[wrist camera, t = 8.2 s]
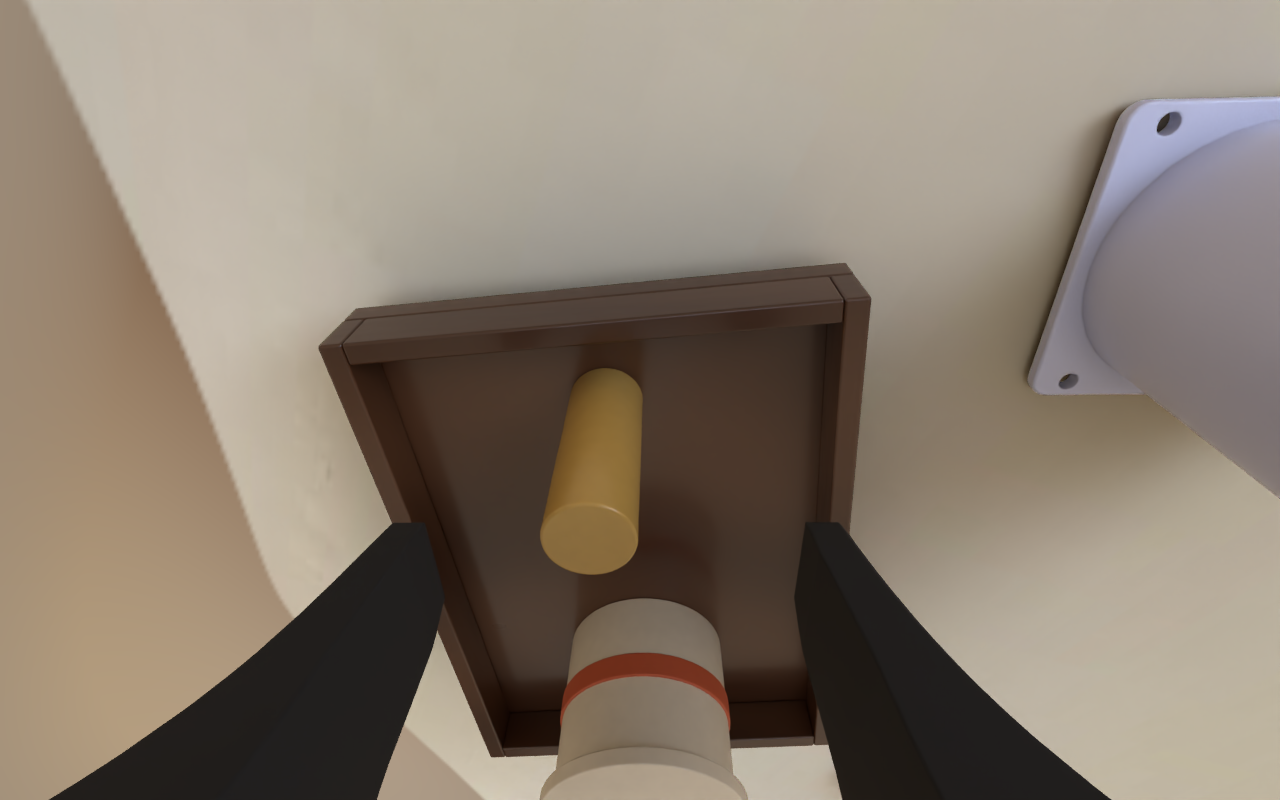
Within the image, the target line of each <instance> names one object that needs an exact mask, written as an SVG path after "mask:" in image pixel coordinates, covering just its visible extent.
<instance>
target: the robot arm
mask: <svg viewBox="0 0 1280 800" xmlns="http://www.w3.org/2000/svg"><path fill="white" fill-rule="evenodd" d="M1167 113H1169V114H1170V119H1169V122H1168V124H1167V125H1166V127H1165V128H1164V129H1162V130H1161V131H1160V132H1157V124H1158V123H1159V121H1160V119H1161V118H1162V117H1163V116H1165V115H1166V114H1167ZM1067 374H1070V376H1069V377H1068V379H1066V380H1065V381H1063V382H1059V381H1060V380H1061V378H1062V377H1064V376H1065V375H1067ZM1027 382H1028V384H1029V386H1030V387H1031V388H1032V389H1033V390H1034V391H1035V392H1037V393H1038V394H1041V395H1123V394H1146V395H1148V396H1149V397H1150V398H1151V399H1153V400H1154V401H1155V402H1157V403H1158V404H1159V405H1160V406H1162V407H1163V408H1164V409H1166V410H1167V411H1168V412H1169V413H1171V414H1172V415H1173V416H1174V417H1176V418H1177V419H1178V420H1180V421H1181V422H1182V423H1183V424H1185V425H1186V426H1187V427H1189V428H1190V429H1191V430H1192V431H1194V432H1195V433H1196V434H1198V435H1199V436H1200V437H1201V438H1203V439H1204V440H1205V441H1206V442H1208V443H1209V444H1210V445H1212V446H1213V447H1214V448H1215V449H1217V450H1218V451H1219V452H1221V453H1222V454H1223V455H1224V456H1226V457H1227V458H1228V459H1230V460H1231V461H1232V462H1233V463H1235V464H1236V465H1237V466H1238V467H1240V468H1241V469H1242V470H1244V471H1245V472H1246V473H1247V474H1249V475H1250V476H1251V477H1253V478H1254V479H1255V480H1256V481H1258V482H1259V483H1260V484H1262V485H1263V486H1264V487H1265V488H1267V489H1268V490H1269V491H1270V492H1272V493H1273V494H1274V495H1276V496H1277V497H1278V498H1279V499H1280V96H1269V97H1225V98H1182V99H1145V100H1141V101H1137V102H1135V103H1133V104H1132V105H1130V106H1128V107H1127V108H1126V109H1125V110H1124V112H1123V113H1122V114H1121V115H1120V117H1119V119H1118V121H1117V123H1116V125H1115V128H1114V131H1113V134H1112V137H1111V140H1110V143H1109V145H1108V148H1107V151H1106V154H1105V157H1104V160H1103V163H1102V165H1101V168H1100V171H1099V174H1098V177H1097V180H1096V183H1095V186H1094V188H1093V191H1092V194H1091V197H1090V200H1089V203H1088V206H1087V208H1086V211H1085V214H1084V217H1083V220H1082V223H1081V226H1080V228H1079V231H1078V234H1077V237H1076V240H1075V243H1074V246H1073V249H1072V251H1071V254H1070V257H1069V260H1068V263H1067V266H1066V269H1065V271H1064V274H1063V277H1062V280H1061V283H1060V286H1059V289H1058V291H1057V294H1056V297H1055V300H1054V303H1053V306H1052V309H1051V312H1050V314H1049V317H1048V320H1047V323H1046V326H1045V329H1044V332H1043V334H1042V337H1041V340H1040V343H1039V346H1038V349H1037V352H1036V354H1035V357H1034V360H1033V363H1032V366H1031V369H1030V372H1029V375H1028V380H1027ZM444 599H445V594H444V590H443V587H442V583H441V580H440V576H439V572H438V569H437V565H436V562H435V558H434V554H433V551H432V547H431V544H430V540H429V536H428V533H427V529H426V526H425V523H392V524H391V525H390V526H389V527H388V528H387V529H386V530H385V531H384V532H383V533H382V534H381V535H380V536H379V537H378V538H377V539H376V540H375V541H374V542H373V543H372V544H371V545H370V546H369V547H368V548H367V549H366V550H365V551H364V552H363V553H362V554H361V555H360V556H359V557H358V558H357V559H356V560H355V561H354V562H353V563H352V564H351V565H350V566H349V567H348V568H347V569H346V570H345V571H344V572H343V573H342V574H341V575H340V576H339V577H338V578H337V579H336V580H335V581H334V582H333V583H332V584H331V585H330V586H329V587H328V588H327V589H325V590H324V591H323V592H322V593H321V594H320V595H319V596H318V597H317V598H316V599H315V600H314V601H313V602H312V603H311V604H310V605H309V606H308V607H307V608H306V609H305V610H304V611H303V612H301V613H300V614H299V615H298V616H297V617H296V618H295V619H294V620H293V621H291V623H289V624H288V625H287V626H286V627H285V628H284V629H283V630H281V631H280V632H279V633H278V634H277V635H276V636H275V637H274V638H272V639H271V640H270V641H269V642H268V643H267V644H266V645H265V646H264V647H262V648H261V649H260V650H259V651H258V652H257V653H256V654H254V655H253V656H252V657H251V658H250V659H248V660H247V661H246V662H245V663H244V664H242V665H241V666H240V667H239V668H237V669H236V670H235V671H234V672H233V673H231V674H230V675H229V676H228V677H226V678H225V679H224V680H222V681H221V682H220V683H219V684H217V685H216V686H215V687H213V688H212V689H211V690H210V691H208V692H207V693H206V694H204V695H203V696H202V697H201V698H199V699H198V700H197V701H195V702H194V703H193V704H191V705H190V706H189V707H187V708H186V709H185V710H183V711H182V712H180V713H179V714H177V715H176V716H175V717H173V718H172V719H171V720H169V721H167V722H166V723H165V724H163V725H162V726H160V727H159V728H157V729H156V730H155V731H153V732H152V733H150V734H149V735H148V736H146V737H145V738H143V739H142V740H141V741H139V742H137V743H136V744H135V745H133V746H132V747H130V748H129V749H128V750H126V751H125V752H123V753H122V754H120V755H119V756H117V757H116V758H114V759H113V760H111V761H110V762H108V763H107V764H105V765H104V766H102V767H100V768H99V769H97V770H96V771H94V772H93V773H91V774H89V775H88V776H86V777H85V778H83V779H82V780H80V781H79V782H77V783H75V784H74V785H72V786H71V787H69V788H67V789H66V790H64V791H62V792H61V793H60V794H58V795H56V796H54V797H53V798H51V799H50V800H377V797H378V794H379V791H380V788H381V785H382V782H383V779H384V776H385V773H386V770H387V767H388V764H389V761H390V759H391V756H392V754H393V751H394V749H395V746H396V743H397V741H398V738H399V736H400V733H401V730H402V728H403V725H404V722H405V720H406V717H407V715H408V712H409V709H410V707H411V704H412V702H413V699H414V696H415V694H416V691H417V688H418V686H419V683H420V680H421V678H422V675H423V672H424V670H425V667H426V664H427V662H428V659H429V656H430V654H431V651H432V648H433V644H434V640H435V637H436V633H437V629H438V625H439V621H440V616H441V612H442V608H443V603H444ZM794 601H795V608H796V614H797V621H798V628H799V634H800V640H801V646H802V651H803V655H804V659H805V662H806V666H807V670H808V673H809V677H810V681H811V684H812V688H813V692H814V695H815V699H816V702H817V706H818V709H819V713H820V717H821V720H822V724H823V727H824V731H825V735H826V738H827V742H828V745H829V749H830V752H831V756H832V760H833V763H834V767H835V770H836V774H837V779H838V783H839V787H840V791H841V795H842V800H1111V799H1110V798H1108V797H1107V796H1106V795H1104V794H1103V793H1102V792H1101V791H1099V790H1098V789H1097V788H1095V787H1094V786H1093V785H1092V784H1090V783H1089V782H1088V781H1087V780H1086V779H1084V778H1083V777H1082V776H1081V775H1080V774H1078V773H1077V772H1076V771H1075V770H1073V769H1072V768H1071V767H1070V766H1069V765H1067V764H1066V763H1065V762H1064V761H1063V760H1061V759H1060V758H1059V757H1058V756H1056V755H1055V754H1054V753H1053V752H1052V751H1050V750H1049V749H1048V748H1047V747H1046V746H1044V745H1043V744H1042V743H1041V742H1039V741H1038V740H1037V739H1036V738H1035V737H1034V736H1032V735H1031V734H1030V733H1029V732H1028V731H1027V730H1026V729H1025V728H1024V727H1022V726H1021V725H1020V724H1019V723H1018V722H1017V721H1016V720H1015V719H1013V718H1012V717H1011V716H1010V715H1009V714H1008V713H1007V712H1006V711H1005V710H1004V709H1003V708H1001V707H1000V706H999V705H998V704H997V703H996V702H995V701H994V700H993V699H992V698H991V697H990V696H989V695H988V694H987V693H986V692H985V691H984V690H982V689H981V688H980V687H979V686H978V685H977V684H976V683H975V682H974V681H973V680H972V679H971V678H970V677H969V676H968V675H967V674H966V673H965V672H964V671H963V670H962V668H961V667H960V666H959V665H958V664H957V663H956V662H955V661H954V660H953V659H952V658H951V657H950V656H949V655H948V654H947V653H946V652H945V651H944V649H943V648H942V647H941V646H940V645H939V644H938V643H937V642H936V641H935V640H934V639H933V638H932V637H931V635H930V634H929V633H928V632H927V631H926V630H925V629H924V628H923V626H922V625H921V624H920V623H919V622H918V621H917V620H916V618H915V617H914V616H913V615H912V614H911V612H910V611H909V610H908V609H907V608H906V607H905V605H904V604H903V603H902V602H901V601H900V599H899V598H898V597H897V596H896V595H895V594H894V592H893V591H892V590H891V589H890V587H889V586H888V585H887V584H886V582H885V581H884V580H883V579H882V577H881V576H880V575H879V574H878V572H877V571H876V570H875V568H874V567H873V566H872V565H871V563H870V562H869V561H868V559H867V558H866V557H865V555H864V554H863V553H862V551H861V550H860V549H859V547H858V546H857V545H856V543H855V542H854V541H853V539H852V538H851V537H850V535H849V534H848V533H847V531H846V530H845V528H844V527H843V526H842V525H841V524H840V523H839V522H805V529H804V535H803V542H802V548H801V555H800V561H799V568H798V574H797V581H796V587H795V594H794Z"/></svg>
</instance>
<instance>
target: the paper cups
mask: <svg viewBox="0 0 1280 800" xmlns="http://www.w3.org/2000/svg"><path fill="white" fill-rule="evenodd" d="M560 724H561V734H560V742H559V750H558V757H557V765H556V771H554V772H553V773H552V774H551V775H550V776H549V778H548V779H547V780H546V782H545V784H544V785H543V787H542V791H541V794H540V800H748V797H747V793H746V791H745V789H744V787H743V785H742V784H741V782H740V781H739V780H738V779H737V778H736V777H735V776H734V775H733V766H732V756H731V746H730V737H729V731H730V712H729V703H728V697H727V694H726V691H725V687H724V678H723V668H722V658H721V648H720V641H719V637H718V635H717V632H716V631H715V629H714V627H713V626H712V625H711V624H710V622H709V621H708V620H707V619H706V618H704V617H703V616H702V615H701V614H699V613H698V612H696V611H694V610H692V609H690V608H688V607H686V606H684V605H681V604H678V603H675V602H671V601H667V600H661V599H651V598H638V599H628V600H623V601H618V602H615V603H612V604H609V605H606V606H604V607H601V608H600V609H598V610H596V611H594V612H593V613H591V614H590V615H589V616H587V617H586V618H585V619H584V620H583V621H582V623H581V624H580V625H579V627H578V628H577V630H576V632H575V634H574V638H573V643H572V651H571V658H570V666H569V674H568V681H567V687H566V689H565V691H564V695H563V701H562V708H561V716H560Z"/></svg>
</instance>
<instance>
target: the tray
mask: <svg viewBox="0 0 1280 800" xmlns="http://www.w3.org/2000/svg"><path fill="white" fill-rule="evenodd" d="M870 307H871V297H870V295H869V294H868V293H867V291H866V290H865V289H864V287H863V286H862V285H861V283H860V282H859V281H858V279H857V278H856V277H855V275H853V272H852V271H851V270H850V268H849V267H848V266H847V264H846V263H839V264H828V265H817V266H807V267H796V268H785V269H775V270H764V271H753V272H743V273H732V274H721V275H710V276H700V277H689V278H678V279H668V280H657V281H646V282H636V283H625V284H614V285H604V286H593V287H582V288H572V289H561V290H550V291H539V292H529V293H518V294H507V295H497V296H486V297H475V298H465V299H454V300H443V301H433V302H422V303H411V304H400V305H390V306H379V307H368V308H358V309H355V310H354V311H353V312H352V313H351V314H350V315H349V316H348V317H347V318H346V319H345V321H344V322H342V323H341V324H340V325H339V326H338V327H337V328H336V329H335V330H334V331H333V332H332V333H331V334H330V335H329V336H328V337H327V338H326V339H325V340H324V341H323V342H322V343H321V344H320V345H319V351H320V353H321V356H322V358H323V360H324V363H325V365H326V368H327V370H328V372H329V375H330V377H331V379H332V382H333V384H334V386H335V389H336V391H337V394H338V396H339V398H340V401H341V403H342V405H343V408H344V410H345V413H346V415H347V417H348V420H349V422H350V424H351V427H352V429H353V431H354V434H355V436H356V439H357V441H358V443H359V446H360V448H361V450H362V453H363V455H364V458H365V460H366V462H367V465H368V467H369V469H370V472H371V474H372V476H373V479H374V481H375V484H376V486H377V488H378V491H379V493H380V495H381V498H382V500H383V503H384V505H385V507H386V510H387V512H388V514H389V517H390V519H391V521H392V523H425V526H426V529H427V533H428V536H429V540H430V544H431V547H432V551H433V554H434V558H435V562H436V565H437V569H438V572H439V576H440V580H441V583H442V587H443V590H444V594H445V599H444V603H443V608H442V612H441V616H440V621H439V625H438V629H437V630H438V633H439V635H440V638H441V640H442V642H443V645H444V647H445V649H446V652H447V654H448V656H449V659H450V661H451V664H452V666H453V668H454V671H455V673H456V675H457V678H458V680H459V683H460V685H461V687H462V690H463V692H464V694H465V697H466V699H467V701H468V704H469V706H470V709H471V711H472V713H473V716H474V718H475V720H476V723H477V725H478V728H479V730H480V732H481V735H482V737H483V739H484V742H485V744H486V746H487V749H488V751H489V754H490V756H491V757H505V755H506V757H517V756H544V755H558V750H559V742H560V734H561V724H560V716H561V708H562V701H563V695H564V691H565V689H566V687H567V681H568V674H569V666H570V658H571V651H572V643H573V638H574V634H575V632H576V630H577V628H578V627H579V625H580V624H581V623H582V621H583V620H584V619H585V618H586V617H587V616H589V615H590V614H591V613H593V612H594V611H596V610H598V609H600V608H601V607H604V606H606V605H609V604H612V603H615V602H618V601H623V600H628V599H638V598H651V599H661V600H667V601H671V602H675V603H678V604H681V605H684V606H686V607H688V608H690V609H692V610H694V611H696V612H698V613H699V614H701V615H702V616H703V617H704V618H706V619H707V620H708V621H709V622H710V624H711V625H712V626H713V627H714V629H715V631H716V632H717V635H718V637H719V641H720V648H721V658H722V668H723V678H724V687H725V691H726V694H727V697H728V703H729V712H730V731H729V737H730V746H731V748H757V747H784V746H810V745H813V743H814V745H828V742H827V738H826V735H825V731H824V727H823V724H822V720H821V717H820V713H819V709H818V706H817V702H816V699H815V695H814V692H813V688H812V684H811V681H810V677H809V673H808V670H807V666H806V662H805V659H804V655H803V651H802V646H801V640H800V634H799V628H798V621H797V614H796V608H795V601H794V594H795V587H796V581H797V574H798V568H799V561H800V555H801V548H802V542H803V535H804V529H805V522H839V523H840V524H841V525H842V526H843V527H844V528H845V530H846V531H847V533H848V534H849V531H850V520H851V510H852V499H853V488H854V478H855V467H856V456H857V446H858V435H859V424H860V414H861V403H862V392H863V382H864V371H865V360H866V350H867V339H868V328H869V318H870Z"/></svg>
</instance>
